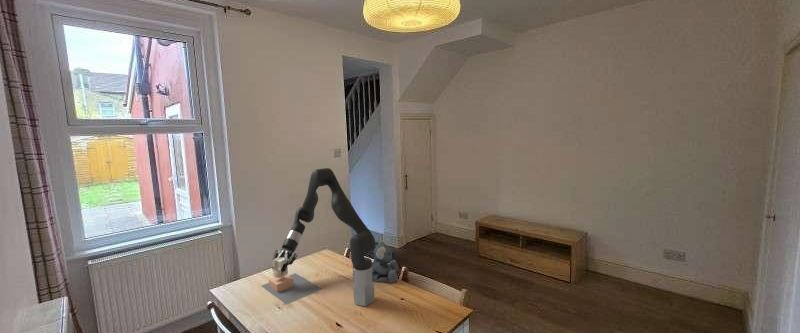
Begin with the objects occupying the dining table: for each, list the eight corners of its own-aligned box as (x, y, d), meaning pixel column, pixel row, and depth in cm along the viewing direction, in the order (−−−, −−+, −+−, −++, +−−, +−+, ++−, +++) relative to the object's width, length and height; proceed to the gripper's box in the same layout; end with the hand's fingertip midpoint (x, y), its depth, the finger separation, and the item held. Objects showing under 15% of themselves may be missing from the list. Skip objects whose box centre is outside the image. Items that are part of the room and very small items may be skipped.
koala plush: (397, 283, 169) (397, 248, 167) (364, 284, 169) (363, 248, 167) (398, 270, 186) (398, 237, 184) (368, 270, 187) (367, 238, 184)
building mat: (322, 289, 163) (322, 288, 163) (286, 305, 149) (286, 304, 149) (295, 274, 182) (295, 273, 182) (260, 286, 168) (260, 285, 168)
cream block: (287, 274, 168) (287, 257, 167) (281, 278, 163) (280, 261, 162) (280, 272, 170) (279, 256, 169) (273, 276, 165) (272, 260, 164)
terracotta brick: (293, 285, 167) (293, 278, 167) (277, 292, 160) (276, 284, 160) (285, 280, 173) (284, 273, 173) (269, 286, 167) (268, 279, 166)
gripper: (278, 236, 174) (262, 265, 164) (299, 239, 169) (285, 269, 159) (285, 242, 179) (271, 271, 169) (306, 245, 174) (292, 275, 164)
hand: (277, 270), depth 164 cm, fingers closed on cream block, 5 cm apart
